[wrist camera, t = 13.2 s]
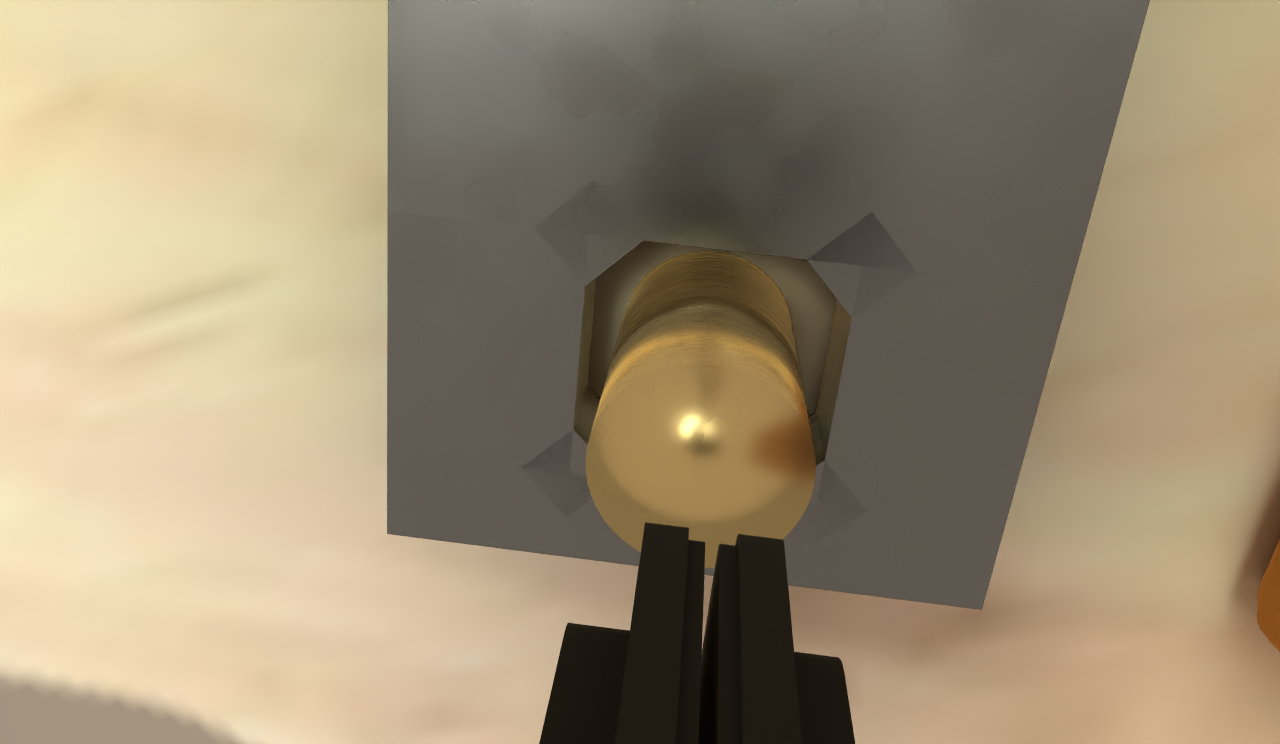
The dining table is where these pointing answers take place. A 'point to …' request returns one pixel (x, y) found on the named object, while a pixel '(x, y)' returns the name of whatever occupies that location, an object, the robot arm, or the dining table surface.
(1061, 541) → the dining table surface
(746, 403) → the brass cylinder peg
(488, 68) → the jig
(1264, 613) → the coffee package
